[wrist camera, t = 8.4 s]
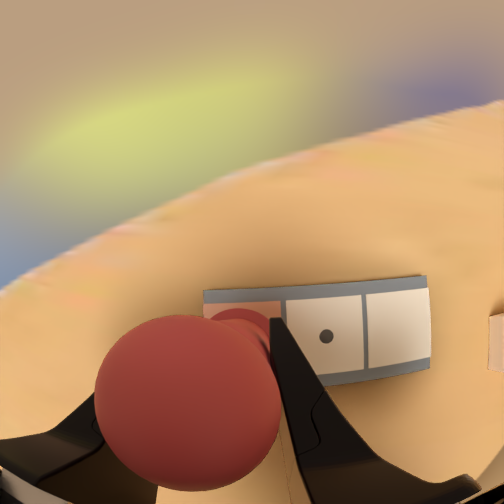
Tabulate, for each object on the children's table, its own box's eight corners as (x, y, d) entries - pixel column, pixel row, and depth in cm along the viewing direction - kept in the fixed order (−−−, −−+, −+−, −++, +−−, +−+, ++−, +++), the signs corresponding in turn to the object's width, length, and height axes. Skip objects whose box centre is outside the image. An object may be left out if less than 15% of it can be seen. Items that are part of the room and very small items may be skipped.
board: (420, 277, 18) (427, 275, 17) (423, 366, 17) (430, 368, 16) (206, 291, 19) (202, 290, 18) (210, 386, 18) (206, 391, 17)
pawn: (231, 398, 14) (144, 551, 3) (187, 335, 15) (12, 366, 4) (296, 357, 15) (362, 474, 3) (252, 293, 16) (190, 230, 4)
